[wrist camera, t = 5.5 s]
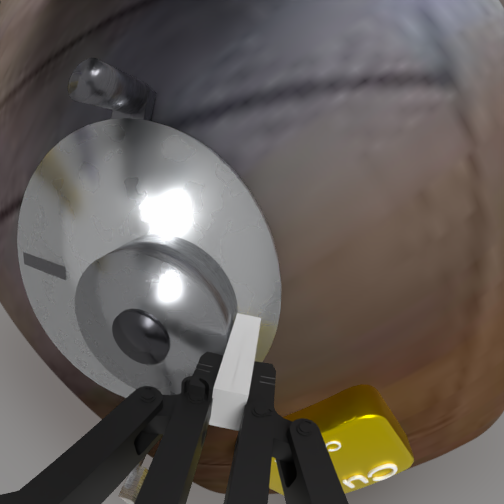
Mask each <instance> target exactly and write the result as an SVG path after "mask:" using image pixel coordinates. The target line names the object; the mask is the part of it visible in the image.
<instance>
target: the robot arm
mask: <svg viewBox="0 0 504 504" xmlns="http://www.w3.org/2000/svg"><path fill="white" fill-rule="evenodd" d="M260 323H261V318H259V317H254V316H249V315H244V314H239V313H237V315H236V319H235V322H234V325H233V328H232V331H231V334H230V337H229V341H228V344H227V347H226V350H225V353H224V355H220V354H216V353H212V352H208V351H207V352H206V353H204V354H203V355H202V356H201V357H200V359H199V362H198V364H197V366H196V369H195V371H194V373H193V375H192V376H188V377H186V378H184V379H183V381H182V382H181V393H180V394H176V395H162V394H161V392H160V391H159V390H158V389H157V388H154V387H152V386H143V387H139V388H138V389H136V390H135V391H134V392H133V393H132V394H130V395H129V396H128V397H127V398H126V399H125V400H124V401H123V402H122V403H120V404H119V405H118V406H117V407H116V408H115V409H114V410H113V411H111V412H110V413H109V414H108V415H107V416H106V417H105V418H104V419H102V420H101V421H100V422H99V423H98V424H97V425H96V426H94V427H93V428H92V429H91V430H90V431H89V432H88V433H87V434H85V435H84V436H83V437H82V438H81V439H80V440H78V441H77V442H76V443H75V444H74V445H73V446H72V447H70V448H69V449H68V450H67V451H66V452H65V453H63V454H62V455H61V456H60V457H59V458H57V459H56V460H55V461H54V462H53V463H52V464H50V465H49V466H48V467H47V468H46V469H44V470H43V471H42V472H41V473H40V474H39V475H37V476H36V477H35V478H34V479H32V480H31V481H30V482H29V483H28V484H26V485H25V486H24V487H23V488H22V489H20V490H19V491H16V492H11V493H7V494H2V495H0V504H101V503H102V502H103V501H104V500H105V499H106V498H107V497H108V496H109V495H110V494H111V493H112V492H113V491H114V490H115V489H116V488H117V487H118V486H119V484H120V483H121V482H122V481H123V480H124V479H125V478H126V477H127V476H128V475H129V474H130V472H131V471H132V470H133V469H134V468H135V467H136V466H137V465H138V464H139V462H140V461H141V460H142V459H143V458H144V457H145V456H146V454H147V453H148V452H149V451H150V450H151V449H152V448H153V446H154V445H155V444H156V443H157V442H158V441H159V439H160V438H161V437H162V436H163V437H162V440H161V442H160V444H159V446H158V449H157V451H156V453H155V456H154V458H153V461H152V463H151V465H150V467H149V470H148V472H147V474H146V477H145V479H144V481H143V484H142V486H141V488H140V491H139V493H138V495H137V498H136V500H135V503H134V504H186V501H187V498H188V494H189V491H190V488H191V484H192V481H193V478H194V475H195V471H196V468H197V465H198V461H199V458H200V454H201V451H202V448H203V444H204V441H205V438H206V434H207V427H208V424H209V425H213V426H218V427H222V428H227V429H232V430H237V431H239V433H238V437H237V441H236V444H235V451H234V456H233V461H232V466H231V471H230V476H229V481H228V486H227V490H226V495H225V500H224V504H267V503H268V493H269V483H270V472H271V461H272V457H274V458H276V463H277V467H278V472H279V476H280V480H281V484H282V488H283V492H284V496H285V500H286V504H348V501H347V499H346V496H345V494H344V491H343V488H342V486H341V483H340V481H339V478H338V476H337V473H336V470H335V468H334V465H333V463H332V460H331V458H330V455H329V452H328V450H327V447H326V445H325V442H324V440H323V437H322V434H321V432H320V429H319V427H318V426H317V424H316V423H314V422H313V421H311V420H309V419H303V418H300V419H296V420H294V421H293V422H292V421H290V420H287V419H285V418H283V417H281V416H280V415H278V414H277V412H276V411H275V409H274V392H275V376H276V370H275V368H274V367H273V365H272V364H268V363H263V362H257V361H254V360H255V354H256V348H257V342H258V335H259V329H260ZM163 434H164V435H163Z"/></svg>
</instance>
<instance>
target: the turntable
mask: <svg viewBox="0 0 504 504" xmlns="http://www.w3.org/2000/svg"><path fill="white" fill-rule="evenodd" d="M68 94H69V96H70V98H71V99H72V100H74V101H77V102H81V103H86V104H90V105H94V106H98V107H102V108H106V109H110V110H113V111H112V116H111V119H109V120H104V121H100V122H96V123H92V124H89V125H87V126H85V127H83V128H80V129H78V130H76V131H74V132H73V133H71V134H70V135H68V136H67V137H65V138H64V139H62V140H61V141H60V142H59V143H58V144H57V145H55V146H54V147H53V148H52V149H51V150H50V151H49V152H48V153H47V155H46V156H45V157H44V159H43V160H42V161H41V162H40V164H39V165H38V167H37V169H36V170H35V172H34V174H33V176H32V177H31V179H30V182H29V184H28V186H27V189H26V191H25V194H24V197H23V201H22V205H21V208H20V214H19V221H18V233H17V247H18V259H19V266H20V272H21V276H22V280H23V284H24V287H25V290H26V293H27V296H28V299H29V301H30V304H31V306H32V308H33V310H34V312H35V314H36V316H37V318H38V320H39V322H40V324H41V325H42V327H43V329H44V330H45V332H46V333H47V335H48V336H49V338H50V339H51V340H52V342H53V343H54V344H55V346H56V347H57V348H58V349H59V350H60V352H61V353H62V354H63V355H64V356H65V357H66V358H67V359H68V360H69V361H70V362H71V363H72V364H73V365H74V366H75V367H76V368H78V369H79V370H80V371H81V372H82V373H83V374H85V375H86V376H87V377H89V378H90V379H92V380H93V381H94V382H96V383H97V384H99V385H101V386H102V387H104V388H106V389H108V390H110V391H111V392H114V393H116V394H118V395H120V396H122V397H125V398H127V397H128V396H129V395H130V394H132V393H133V392H134V391H135V390H136V389H135V388H133V387H131V386H129V385H127V384H125V383H124V382H122V381H121V380H119V379H118V378H117V377H115V376H114V375H113V374H111V373H110V372H109V371H108V370H107V369H106V368H105V367H104V366H103V365H102V364H101V363H100V362H99V361H98V360H97V358H96V357H95V356H94V355H93V353H92V352H91V350H90V349H89V347H88V346H87V344H86V342H85V340H84V338H83V336H82V334H81V331H80V329H79V326H78V322H77V318H76V313H75V293H76V288H77V285H78V282H79V279H80V277H81V276H82V274H83V272H84V271H85V270H86V268H87V267H88V266H89V265H90V264H92V263H93V262H94V261H95V260H97V259H99V258H101V257H102V256H104V255H106V254H108V253H110V252H111V251H113V250H115V249H117V248H119V247H120V246H122V245H124V244H126V243H128V242H130V241H132V240H133V239H135V238H138V237H141V236H145V235H150V234H165V235H172V236H176V237H179V238H182V239H185V240H187V241H189V242H191V243H193V244H195V245H197V246H198V247H200V248H201V249H203V250H204V251H205V252H207V253H208V254H209V255H210V256H211V257H212V258H213V259H214V260H215V261H216V262H217V263H218V264H219V265H220V266H221V268H222V269H223V270H224V272H225V273H226V275H227V276H228V278H229V280H230V282H231V284H232V286H233V289H234V292H235V295H236V300H237V305H238V313H239V314H244V315H249V316H254V317H259V318H261V323H260V329H259V335H258V342H257V348H256V354H255V360H254V361H257V362H263V360H264V358H265V356H266V355H267V353H268V351H269V349H270V347H271V345H272V342H273V339H274V336H275V333H276V331H277V326H278V321H279V315H280V310H281V274H280V266H279V258H278V254H277V250H276V246H275V243H274V239H273V235H272V232H271V230H270V228H269V225H268V223H267V221H266V218H265V216H264V214H263V211H262V209H261V208H260V206H259V204H258V203H257V201H256V199H255V198H254V196H253V194H252V193H251V191H250V189H249V188H248V187H247V185H246V184H245V183H244V182H243V180H242V179H241V178H240V177H239V176H238V174H237V173H236V172H235V171H234V169H233V168H232V167H231V166H230V165H229V164H227V163H226V162H225V161H224V160H223V159H222V158H221V157H220V156H219V155H218V154H217V153H216V152H215V151H213V150H212V149H210V148H209V147H207V146H206V145H204V144H203V143H201V142H200V141H199V140H197V139H196V138H194V137H192V136H190V135H188V134H185V133H183V132H181V131H179V130H177V129H175V128H172V127H169V126H166V125H162V124H159V123H155V122H152V121H151V116H152V111H153V106H154V101H155V96H156V92H155V91H153V90H152V88H151V87H150V86H149V85H148V84H146V83H144V82H142V81H140V80H138V79H137V78H135V77H133V76H131V75H129V74H127V73H125V72H123V71H121V70H119V69H117V68H115V67H113V66H111V65H109V64H107V63H105V62H103V61H101V60H98V59H96V58H89V59H86V60H84V61H83V62H81V63H80V64H79V65H78V66H77V67H76V68H75V70H74V71H73V73H72V74H71V76H70V79H69V82H68Z"/></svg>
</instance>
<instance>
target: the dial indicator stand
mask: <svg viewBox="0 0 504 504" xmlns="http://www.w3.org/2000/svg"><path fill="white" fill-rule="evenodd" d="M163 435H164V434H163ZM144 459H145V457H144V458H143V459H142V460H141V461H140V462H139V464H138V465H137V466H136V467H135V468H134V469H133V470H132V471H131V472H130V474H129V475H128V477H127V479H126V481H125V483H124V485H123V487H122V490H121V492H120V494H119V497H120V498H121V499H123V500H124V501H125V502H126V503H127V504H134V503H135V500H136V498H137V495H138V493H139V491H140V488H141V486H142V484H143V481H144V479H145V477H146V474H147V472H148V470H147V469H146V468H145V467H141V465H142V463H143V460H144Z"/></svg>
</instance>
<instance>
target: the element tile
mask: <svg viewBox="0 0 504 504" xmlns="http://www.w3.org/2000/svg"><path fill="white" fill-rule="evenodd" d="M283 418H285V419H287V420H290V421H292V422H293V421H294V420H296V419H300V418H303V419H309V420H311V421H313V422H314V423H316V424H317V426H318V427H319V429H320V432H321V434H322V437H323V440H324V442H325V445H326V447H327V450H328V452H329V455H330V458H331V460H332V463H333V465H334V468H335V470H336V473H337V476H338V478H339V481H340V483H341V486H342V488H343V491H344V494H345V493H348V492H351V491H354V490H357V489H360V488H363V487H365V486H368V485H371V484H374V483H376V482H379V481H381V480H384V479H386V478H389V477H391V476H393V475H395V474H398V473H400V472H402V471H404V470H406V469H408V468H409V467H410V466H411V465H412V463H413V461H414V457H413V454H412V450H411V447H410V444H409V441H408V438H407V436H406V434H405V432H404V431H403V429H402V428H401V426H400V425H399V423H398V421H397V420H396V418H395V417H394V415H393V414H392V412H391V410H390V409H389V407H388V406H387V404H386V403H385V401H384V400H383V398H382V397H381V395H380V393H379V392H378V390H377V389H376V388H374V387H372V386H370V385H357V386H353V387H350V388H348V389H345V390H343V391H341V392H339V393H337V394H335V395H333V396H331V397H329V398H327V399H325V400H323V401H320V402H318V403H316V404H314V405H311V406H309V407H307V408H304V409H302V410H300V411H297V412H295V413H292V414H290V415H287V416H285V417H283ZM269 488H271V489H272V490H274V491H276V492H278V493H280V494H282V495H284V492H283V488H282V484H281V480H280V476H279V472H278V467H277V463H276V458H274V457H272V461H271V472H270V483H269Z"/></svg>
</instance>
